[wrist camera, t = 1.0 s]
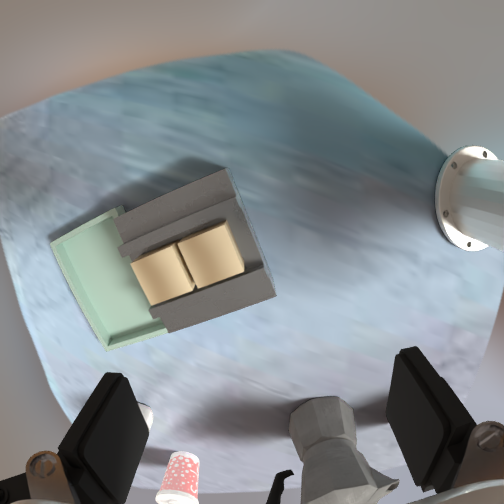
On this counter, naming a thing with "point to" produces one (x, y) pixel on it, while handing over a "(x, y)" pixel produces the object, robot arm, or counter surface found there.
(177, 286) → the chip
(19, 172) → the counter surface
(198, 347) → the counter surface
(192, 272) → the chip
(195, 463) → the beverage cup
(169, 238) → the grey ridged block
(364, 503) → the coffeepot
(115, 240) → the tray
